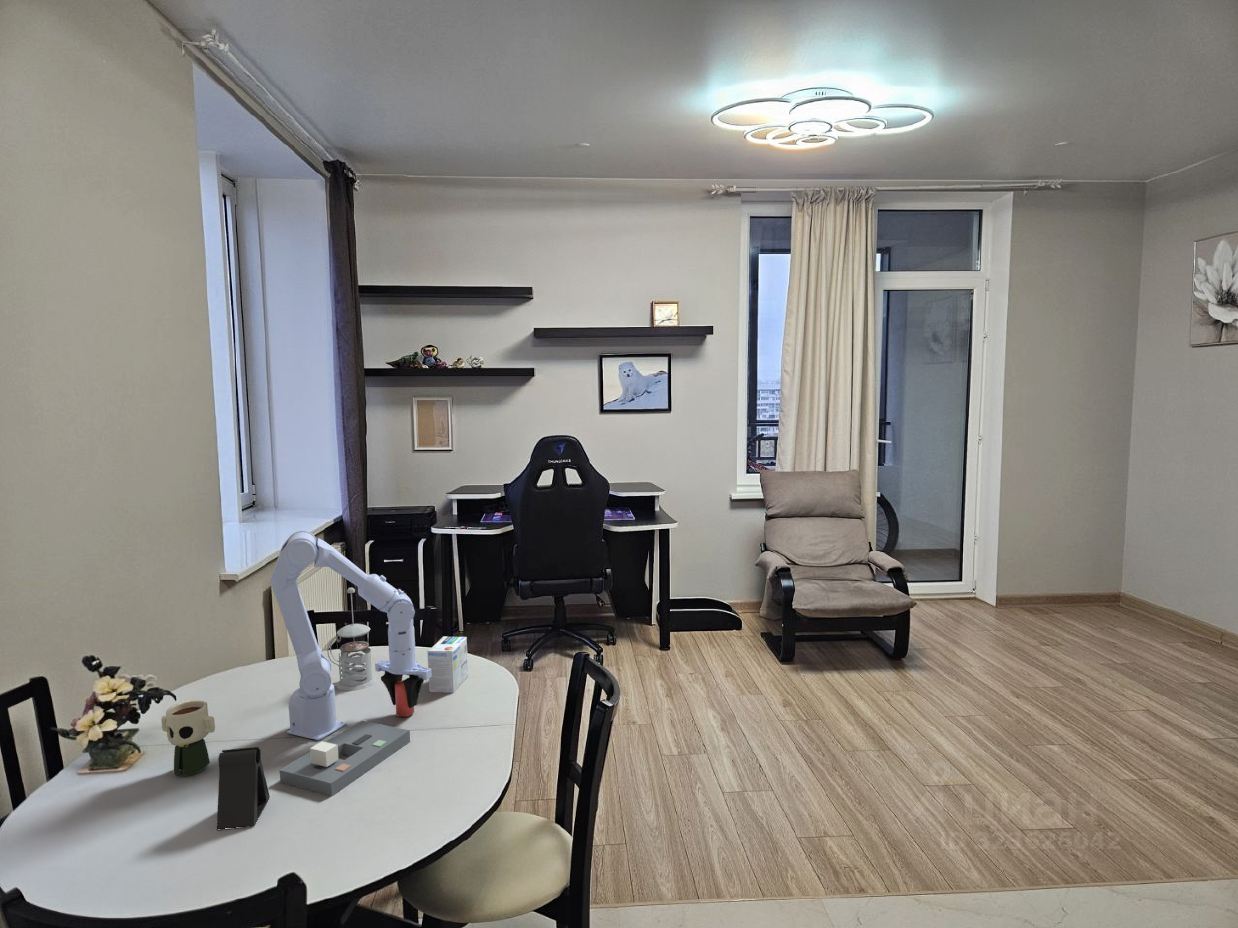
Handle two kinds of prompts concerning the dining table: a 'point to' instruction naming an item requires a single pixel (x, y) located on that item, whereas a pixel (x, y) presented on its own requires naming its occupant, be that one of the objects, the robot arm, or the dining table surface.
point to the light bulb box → (448, 664)
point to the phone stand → (241, 788)
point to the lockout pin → (402, 700)
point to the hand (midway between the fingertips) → (404, 704)
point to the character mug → (188, 735)
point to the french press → (357, 675)
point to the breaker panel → (365, 752)
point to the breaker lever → (324, 753)
